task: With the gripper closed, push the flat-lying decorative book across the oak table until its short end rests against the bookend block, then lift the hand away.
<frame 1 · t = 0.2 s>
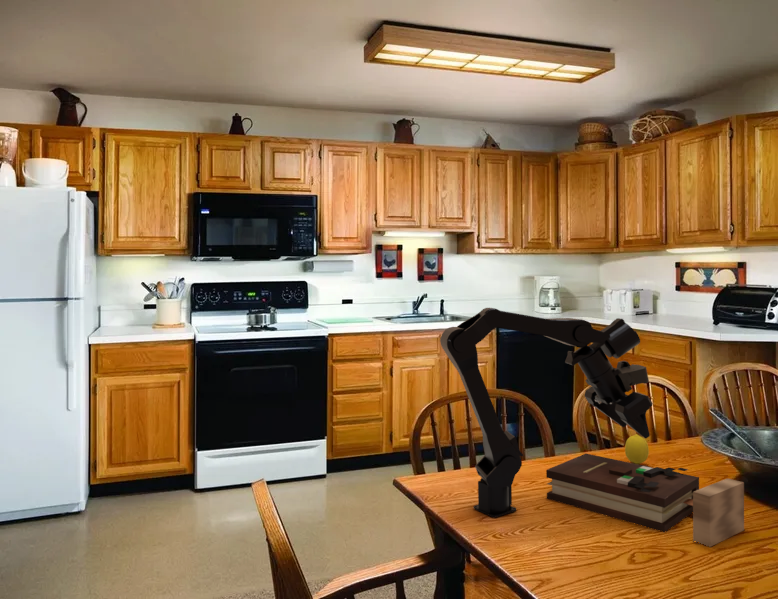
hand: (635, 431, 129), 15 cm above the table, tool tilted 30°, fingers open, 9 cm apart
bookend: (719, 535, 111), on the table
decorative book: (620, 505, 128), on the table
lemon: (636, 466, 153), on the table
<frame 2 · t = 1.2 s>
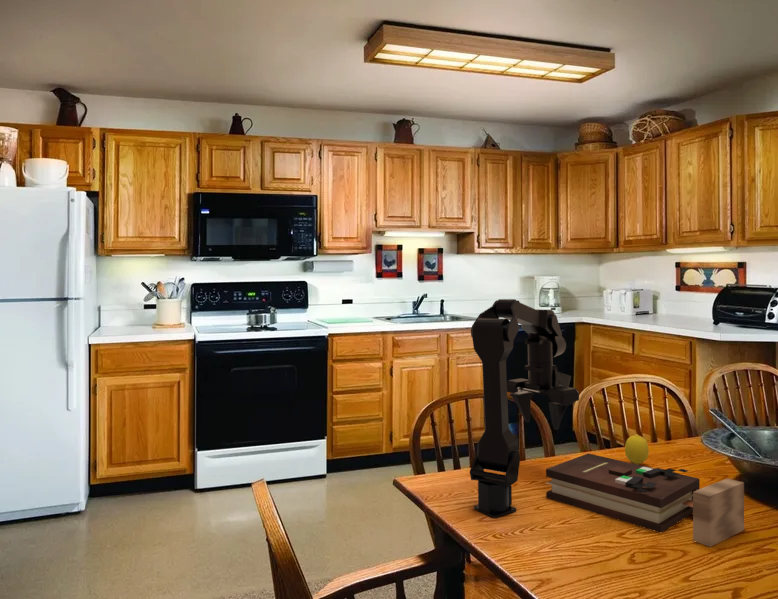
hand: (541, 425, 146), 12 cm above the table, tool pointing down, fingers open, 9 cm apart
nothing on the table moved.
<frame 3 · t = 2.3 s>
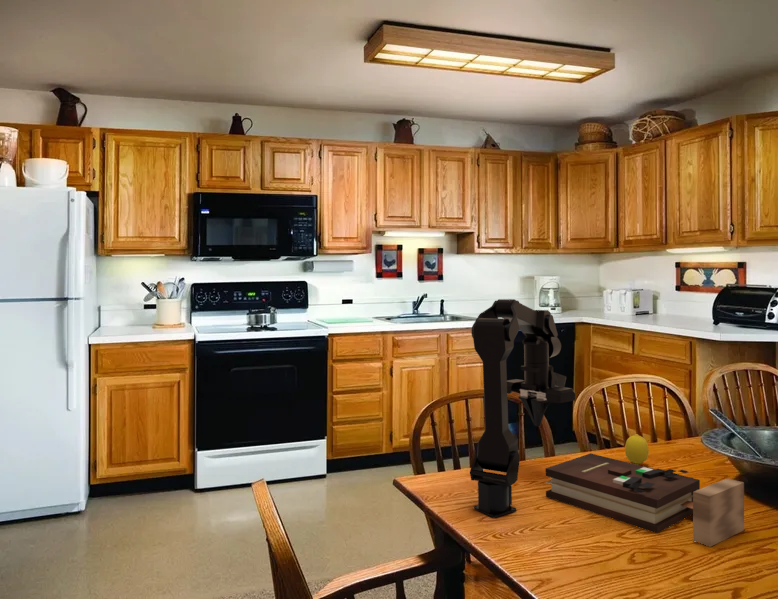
hand: (537, 425, 147), 12 cm above the table, tool pointing down, fingers closed
nothing on the table moved.
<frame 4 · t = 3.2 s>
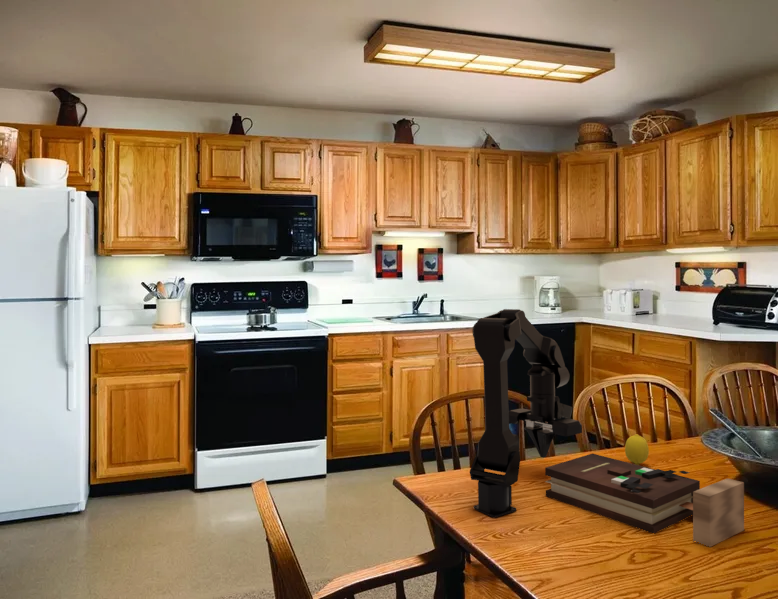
hand: (543, 457, 145), 5 cm above the table, tool pointing down, fingers closed
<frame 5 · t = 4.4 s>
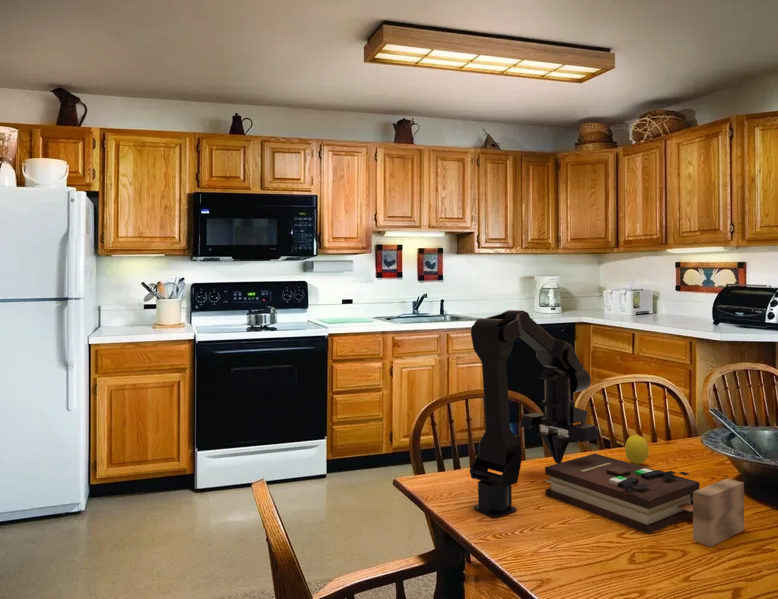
hand: (558, 462, 142), 4 cm above the table, tool pointing down, fingers closed
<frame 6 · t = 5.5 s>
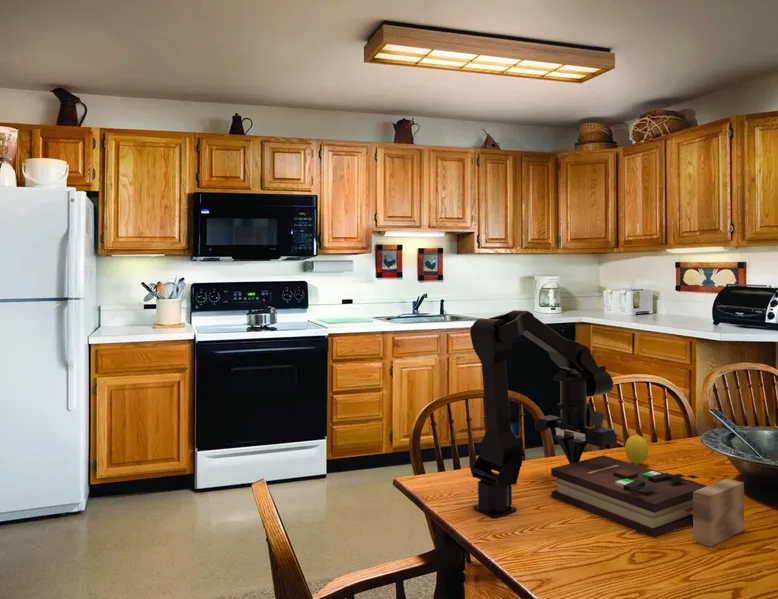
hand: (574, 467, 138), 5 cm above the table, tool pointing down, fingers closed
decorative book: (625, 509, 126), on the table
everything else where it was.
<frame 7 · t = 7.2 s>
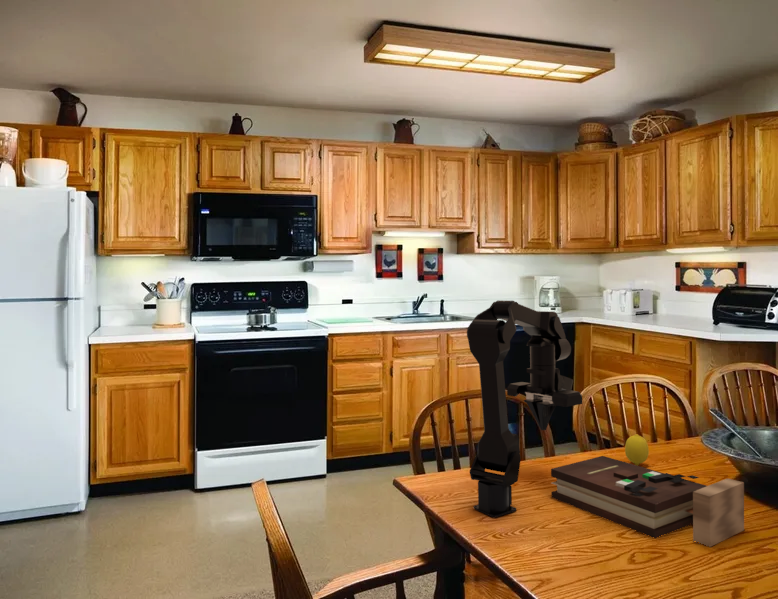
hand: (543, 429, 143), 12 cm above the table, tool pointing down, fingers closed
nothing on the table moved.
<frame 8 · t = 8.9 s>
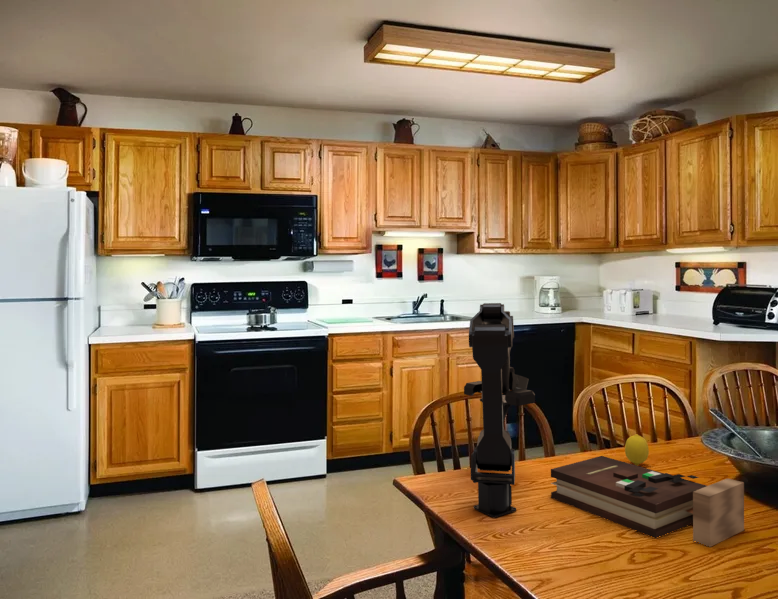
hand: (498, 428, 145), 12 cm above the table, tool pointing down, fingers closed
nothing on the table moved.
at the end: decorative book inside the target area (3.3 cm from its centre), on the table; decorative book moved 2.5 cm from its start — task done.
